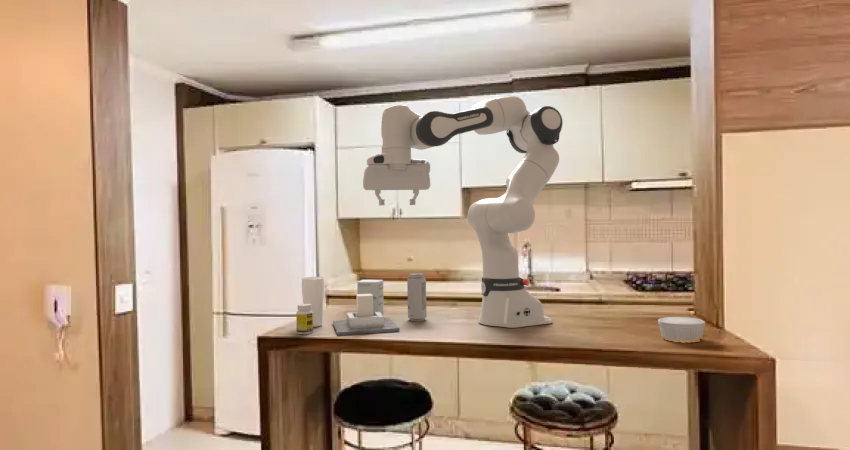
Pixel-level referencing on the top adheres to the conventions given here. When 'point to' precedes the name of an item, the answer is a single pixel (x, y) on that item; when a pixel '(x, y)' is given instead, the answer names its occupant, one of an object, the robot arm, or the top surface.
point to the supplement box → (372, 292)
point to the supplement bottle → (304, 319)
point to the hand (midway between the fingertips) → (397, 205)
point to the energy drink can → (416, 297)
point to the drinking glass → (314, 297)
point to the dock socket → (365, 324)
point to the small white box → (364, 305)
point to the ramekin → (681, 328)
